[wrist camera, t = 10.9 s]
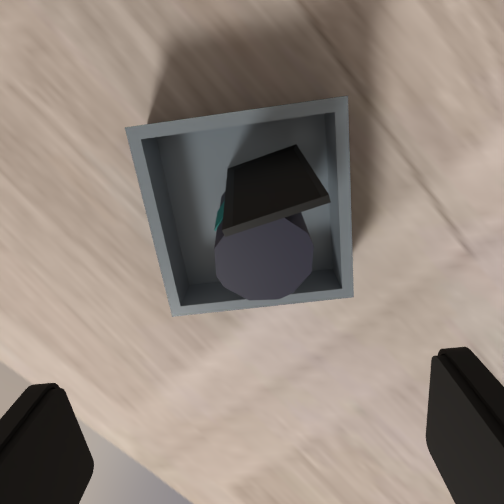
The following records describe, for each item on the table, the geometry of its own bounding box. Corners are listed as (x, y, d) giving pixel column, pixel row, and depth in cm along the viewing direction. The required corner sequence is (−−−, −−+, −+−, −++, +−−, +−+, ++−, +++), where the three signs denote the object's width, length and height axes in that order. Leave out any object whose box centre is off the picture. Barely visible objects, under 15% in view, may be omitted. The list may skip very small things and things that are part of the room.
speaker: (217, 142, 25) (205, 184, 16) (298, 143, 25) (333, 186, 16) (219, 238, 28) (210, 320, 19) (290, 239, 28) (315, 319, 19)
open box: (332, 98, 25) (348, 95, 21) (340, 271, 30) (353, 297, 25) (146, 125, 26) (124, 127, 21) (184, 288, 31) (172, 316, 26)
